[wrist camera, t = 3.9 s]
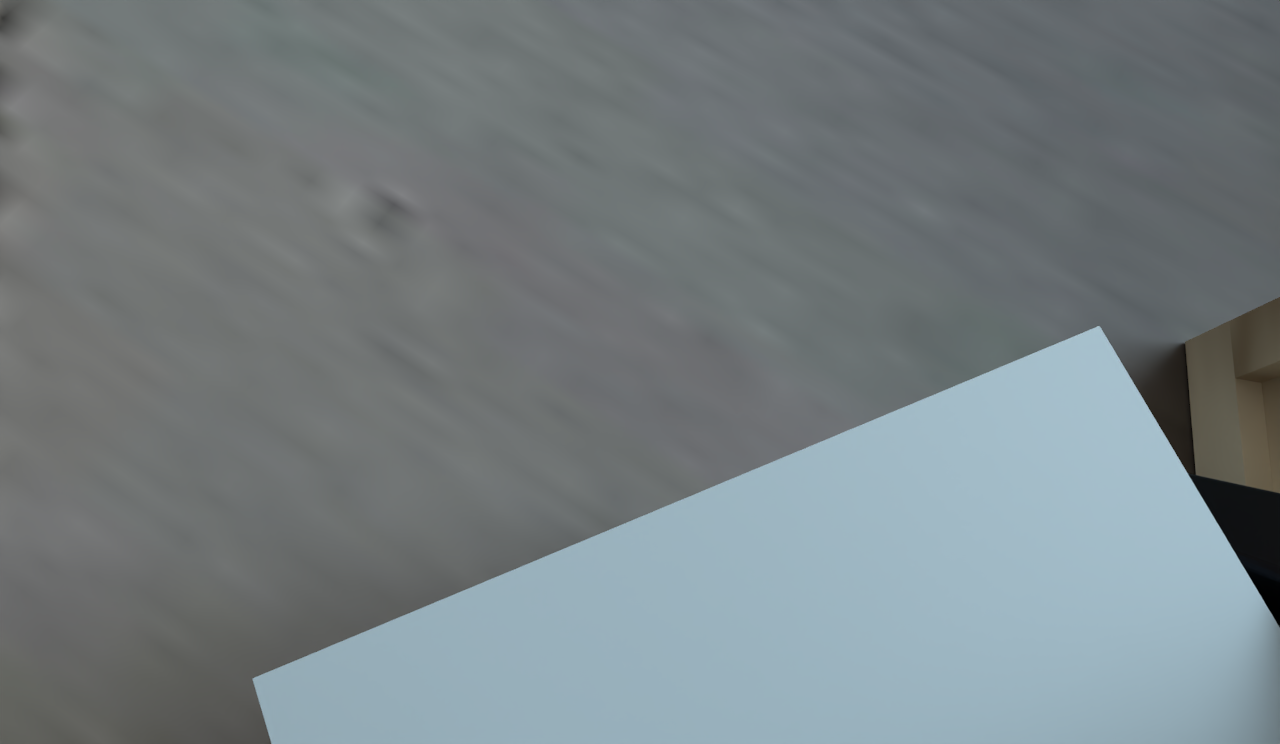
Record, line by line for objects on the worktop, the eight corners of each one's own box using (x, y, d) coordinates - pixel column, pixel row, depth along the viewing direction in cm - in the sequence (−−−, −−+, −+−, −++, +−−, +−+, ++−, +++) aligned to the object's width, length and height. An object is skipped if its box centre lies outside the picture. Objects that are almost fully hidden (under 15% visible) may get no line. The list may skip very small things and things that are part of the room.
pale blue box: (851, 747, 15) (1443, 899, 5) (516, 922, 13) (508, 1558, 4) (750, 528, 16) (1098, 326, 6) (428, 668, 14) (251, 678, 5)
